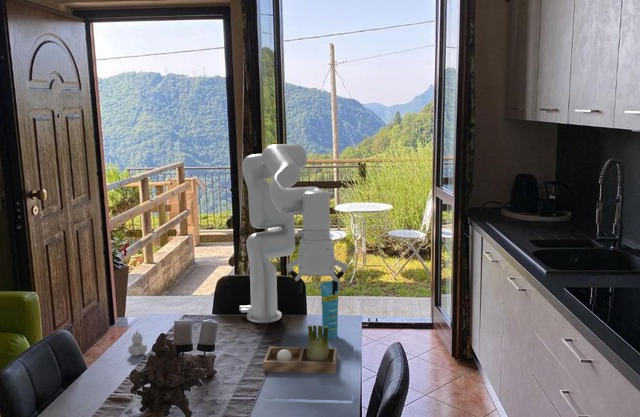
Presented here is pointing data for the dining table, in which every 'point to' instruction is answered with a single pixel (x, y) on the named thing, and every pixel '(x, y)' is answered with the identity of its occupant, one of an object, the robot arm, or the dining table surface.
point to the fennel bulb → (317, 344)
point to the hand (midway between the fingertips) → (317, 293)
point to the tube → (329, 309)
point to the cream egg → (284, 355)
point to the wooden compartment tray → (299, 361)
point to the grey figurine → (137, 345)
